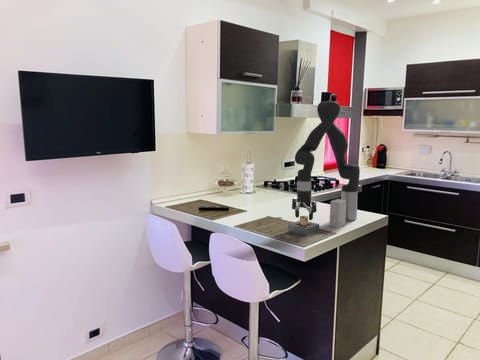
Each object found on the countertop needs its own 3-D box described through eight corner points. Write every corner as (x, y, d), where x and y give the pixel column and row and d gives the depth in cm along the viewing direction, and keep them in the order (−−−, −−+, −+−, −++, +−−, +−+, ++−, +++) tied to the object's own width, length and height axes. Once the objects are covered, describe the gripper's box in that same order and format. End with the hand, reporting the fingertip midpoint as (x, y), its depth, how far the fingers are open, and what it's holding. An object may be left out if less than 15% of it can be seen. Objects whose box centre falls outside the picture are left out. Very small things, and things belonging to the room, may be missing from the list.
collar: (300, 227, 216) (300, 220, 216) (319, 231, 208) (319, 224, 207) (287, 231, 208) (287, 224, 207) (306, 236, 200) (306, 228, 199)
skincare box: (336, 223, 223) (337, 198, 221) (346, 225, 219) (346, 199, 217) (329, 226, 217) (329, 200, 215) (338, 228, 213) (339, 202, 211)
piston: (302, 229, 211) (302, 215, 210) (309, 231, 208) (309, 216, 207) (298, 231, 208) (298, 216, 207) (304, 233, 205) (305, 218, 204)
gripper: (319, 189, 202) (319, 219, 205) (297, 186, 212) (297, 215, 215) (311, 191, 197) (311, 222, 199) (289, 188, 207) (289, 217, 209)
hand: (303, 218), depth 207 cm, fingers open, 8 cm apart
